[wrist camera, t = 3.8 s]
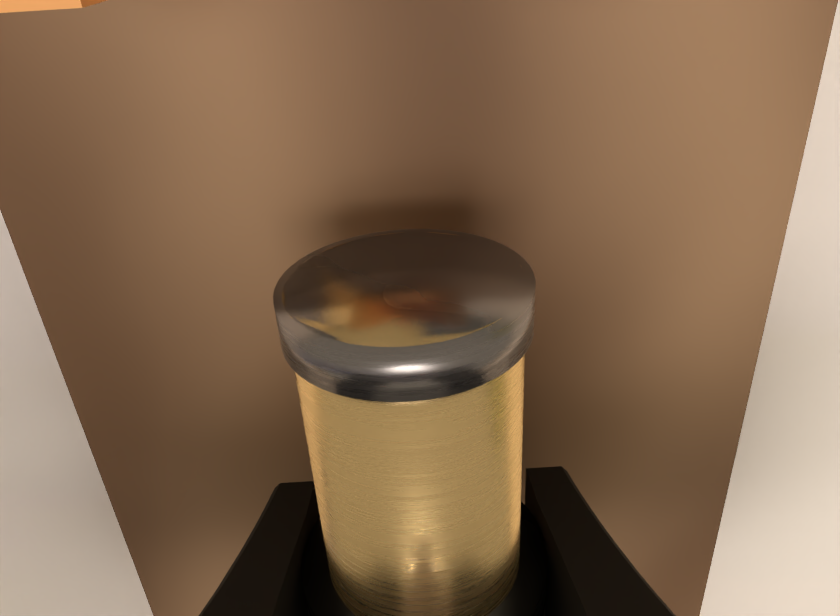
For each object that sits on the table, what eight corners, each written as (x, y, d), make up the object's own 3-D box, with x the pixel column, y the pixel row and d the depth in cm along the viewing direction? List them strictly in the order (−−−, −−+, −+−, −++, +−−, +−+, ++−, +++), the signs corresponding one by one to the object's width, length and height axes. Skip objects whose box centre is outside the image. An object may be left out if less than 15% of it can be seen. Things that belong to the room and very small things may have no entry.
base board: (233, 767, 20) (225, 805, 19) (-309, -787, 6) (-416, -894, 6) (650, 740, 20) (662, 779, 19) (970, -866, 6) (1061, -986, 6)
